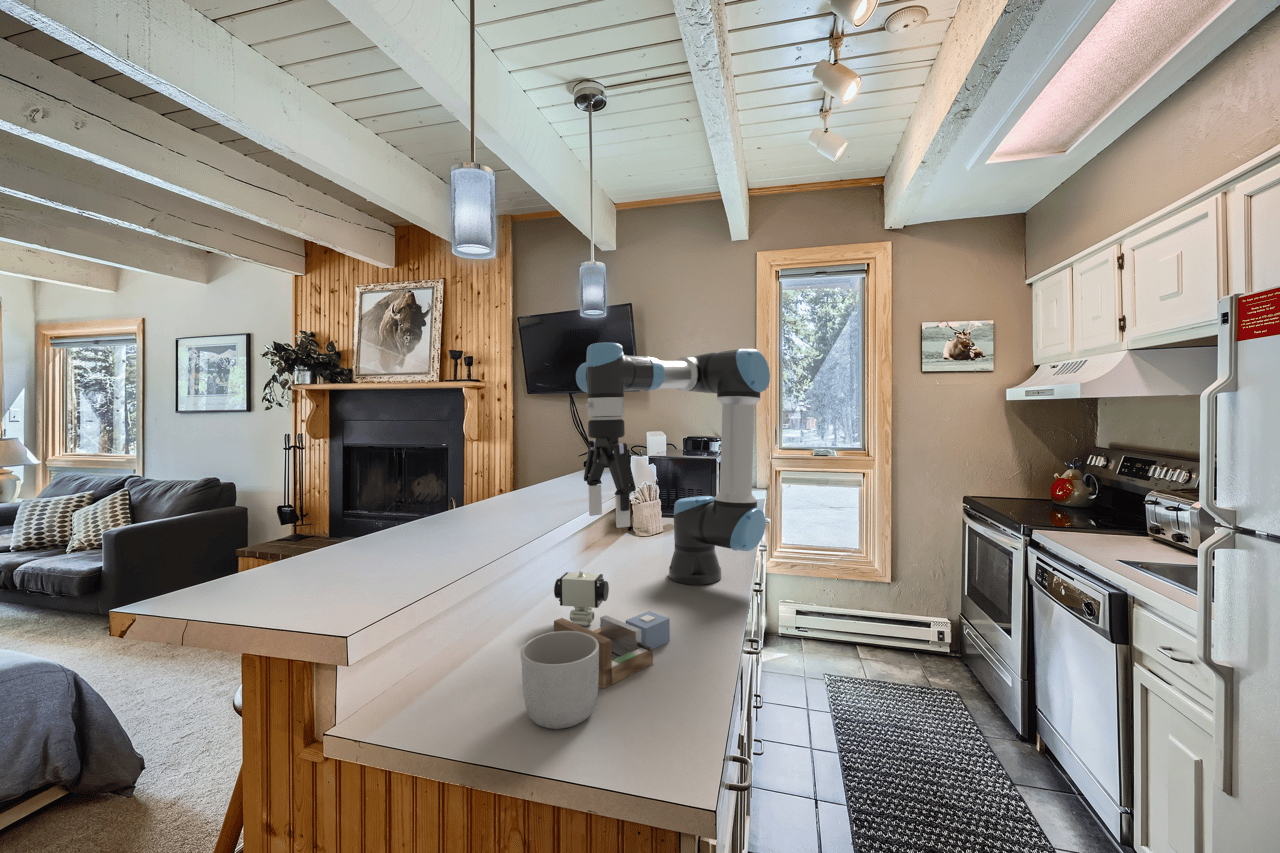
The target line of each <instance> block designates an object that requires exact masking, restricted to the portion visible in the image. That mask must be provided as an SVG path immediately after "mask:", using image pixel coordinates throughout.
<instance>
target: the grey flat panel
mask: <svg viewBox="0 0 1280 853" xmlns="http://www.w3.org/2000/svg"><path fill="white" fill-rule="evenodd" d="M599 621H600V622H599V624H600V631H601V636H604V637H606V638H608V639H610V640H611V653H614V654H616V655H618V656H619V657H620V656H623V655H625V654H627V653H631V652H633V651H635V650H637V649H639V648H643V649H645V650H648V651H650V650H651V647H649V646H647V645H645V644H642V643H641V629H638V628H636V627H634V626H631V625H629V624H626V622H625V621H624V622H623V621H621V620H619V619H616V618H614V617H611V616H608V615H607V614H606V615H603V616H600V619H599Z"/></svg>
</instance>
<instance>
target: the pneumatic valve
mask: <svg viewBox="0 0 1280 853" xmlns="http://www.w3.org/2000/svg"><path fill="white" fill-rule="evenodd" d="M609 586H610V585H609V582H608V581H607V580H605V578H604V574H603V573H589V572H587V573H585V572H584V570H580V571H579V572H567V571H566V572H565V573H564V574H563V575H562V576H561V577H559V578H556V581H555V583H554V587H553V595H554V597H555V599H558V602H559V606H560V607H562V606H563V607H573V608H574V609H571V610H570V612H569V621H570V622H573V623H575V624H577V625H579V626H582V627H588V626H589V625H590V623H593V622H594V620H595V611H594V610H593V608H595V609H597V608H599V607H600V606H601V604H602V603H603V602H607V600H608V598H609V590H610V588H609Z"/></svg>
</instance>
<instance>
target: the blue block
mask: <svg viewBox="0 0 1280 853" xmlns="http://www.w3.org/2000/svg"><path fill="white" fill-rule="evenodd" d="M625 623H626V624H629V625H631V626H634V627H636V628H638V629H641V643H642V644H645V645H647V646H649V647H651V648H653V650H655V649H656V648H658V647H661V646H663V645H665V644H666V643H669V642H670V640H671V637H670V636H671V633H670V632H671V630H670V628H671V627H670V626H671V625H670V618H669V617H667V616H663V615H662V614H658V613H656V612H653V611H651V610H648V611H645V612H643V613H639V614H637V615H635V616H633V617H630V618H627V619H625Z"/></svg>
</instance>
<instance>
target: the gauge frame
mask: <svg viewBox="0 0 1280 853" xmlns="http://www.w3.org/2000/svg"><path fill="white" fill-rule="evenodd" d="M557 631H577V632H582V633H586V634H589V635H591V636H593V637H594V638H595V639H596V640H597V641H598V643H599V679H598V688H601V689H606V688H608V687H610V686H612V685H614V684H615V683H617V682H618V683H619V682H620V681H622V680H623V679H625V678H627V677H629V676H631V675H634V674H636V673H637V672H639V671H641V670H643V669H645V668H647V667H650V666H651V665H653V664H654V649H653V648H651V650H650V651H648V650H645V649H643V648H639V649H637V650H635V651H633V652H631V653H627V654H625V655H623V656H620V655H619V657H616V658H614V659H613V658H612V656H613V655H612V654H613V652H612V651H611V640H610V639H608V638H606V637H604V636H601V631H600V628H599V627H598V628H597V629H594V630H591V629H589V628H586V627H585V626H579V625H577V624H575V623H573V622H572V621H571V620H568V619H566V618H564V617H560V618H557V619H555V620H553V632H557ZM612 659H613V660H612Z"/></svg>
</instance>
